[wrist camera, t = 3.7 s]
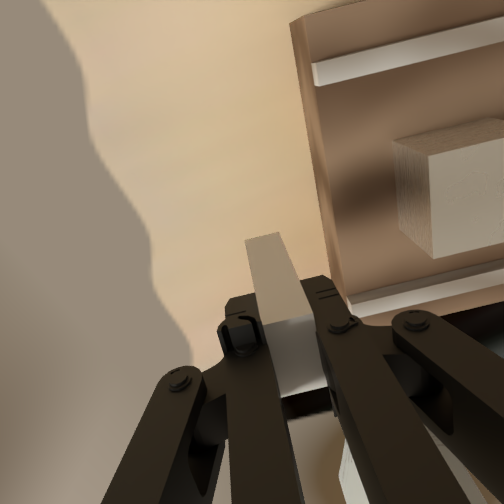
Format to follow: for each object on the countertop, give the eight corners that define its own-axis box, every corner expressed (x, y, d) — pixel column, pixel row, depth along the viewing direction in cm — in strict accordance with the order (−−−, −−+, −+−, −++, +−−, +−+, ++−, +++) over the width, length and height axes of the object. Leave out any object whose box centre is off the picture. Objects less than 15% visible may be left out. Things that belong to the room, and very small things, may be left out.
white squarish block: (391, 140, 22) (428, 156, 18) (487, 117, 22) (543, 128, 18) (399, 229, 24) (433, 259, 20) (486, 208, 24) (536, 234, 20)
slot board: (289, 23, 23) (308, 12, 18) (657, -69, 22) (770, -102, 18) (335, 303, 30) (357, 346, 26) (612, 237, 30) (684, 268, 25)
